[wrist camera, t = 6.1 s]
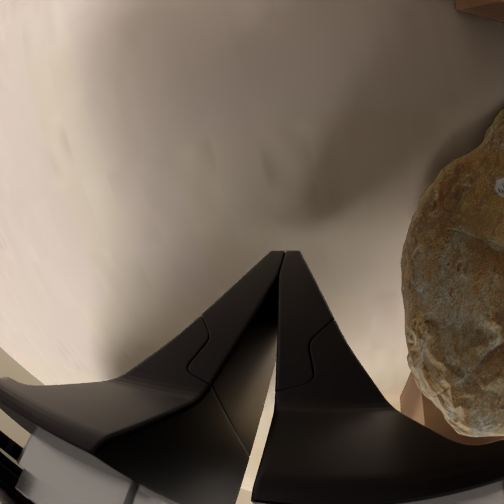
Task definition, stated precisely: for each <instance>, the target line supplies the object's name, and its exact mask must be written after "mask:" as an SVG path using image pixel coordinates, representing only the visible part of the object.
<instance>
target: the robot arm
mask: <svg viewBox="0 0 504 504" xmlns="http://www.w3.org/2000/svg"><path fill="white" fill-rule="evenodd" d="M201 316H202V317H201ZM201 316H200V317H198V318H197V319H196V320H195V321H194V322H193V323H192V324H191V325H189V326H188V327H187V328H186V329H185V330H184V331H182V332H181V333H180V334H179V335H178V336H176V337H175V338H174V339H172V340H171V341H170V342H169V343H167V344H166V345H165V346H163V347H162V348H161V349H159V350H158V351H157V352H155V353H154V354H152V355H151V356H150V357H148V358H147V359H145V360H144V361H143V362H141V363H140V364H139V365H137V366H136V367H134V368H133V369H132V370H130V371H129V372H127V373H126V374H124V375H122V376H120V377H118V378H115V379H112V380H108V381H103V382H92V383H80V384H66V385H46V386H33V385H26V384H22V383H19V382H17V381H15V380H13V379H11V378H9V377H3V378H0V408H1V409H2V410H3V411H4V412H5V413H6V414H7V415H8V416H10V417H11V418H12V419H13V420H15V421H16V422H17V423H18V424H19V425H20V426H22V427H23V428H24V429H25V430H27V431H28V432H29V433H30V436H29V438H28V440H27V442H26V444H25V446H24V448H23V447H21V446H20V445H18V444H17V443H16V442H14V441H13V440H12V439H10V438H9V437H8V436H7V435H5V434H4V433H3V432H1V431H0V504H235V503H236V500H237V497H238V494H239V490H240V487H241V484H242V481H243V477H244V474H245V471H246V468H247V464H248V461H249V456H250V454H251V450H252V447H253V443H254V440H255V436H256V433H257V429H258V425H259V422H260V418H261V415H262V411H263V407H264V403H265V400H266V396H267V392H268V388H269V384H270V380H271V376H272V373H273V369H274V365H275V361H276V386H275V392H276V393H275V405H274V413H273V418H272V422H271V425H270V429H269V433H268V437H267V440H266V444H265V447H264V451H263V455H262V458H261V462H260V465H259V469H258V472H257V475H256V479H255V482H254V486H253V490H252V497H251V501H252V502H253V503H254V504H504V439H502V440H498V441H495V442H491V443H487V444H481V445H467V444H462V443H458V442H455V441H453V440H450V439H448V438H447V437H445V436H443V435H441V434H439V433H437V432H435V431H433V430H431V429H429V428H428V427H426V426H424V425H422V424H420V423H418V422H417V421H415V420H413V419H411V418H409V417H408V416H406V415H404V414H402V413H400V412H399V411H397V410H396V409H395V408H394V407H393V406H392V405H390V404H389V402H388V401H387V400H386V399H385V398H384V396H383V395H382V394H381V392H380V391H379V389H378V388H377V386H376V385H375V383H374V382H373V381H372V379H371V378H370V376H369V375H368V373H367V372H366V371H365V369H364V368H363V366H362V365H361V363H360V362H359V360H358V359H357V358H356V356H355V354H354V353H353V351H352V350H351V348H350V347H349V345H348V344H347V342H346V340H345V338H344V336H343V334H342V333H341V331H340V329H339V327H338V325H337V323H336V321H335V319H334V317H333V315H332V313H331V311H330V309H329V307H328V305H327V303H326V301H325V299H324V297H323V295H322V293H321V291H320V289H319V287H318V285H317V283H316V281H315V279H314V277H313V275H312V273H311V271H310V269H309V267H308V266H307V264H306V262H305V260H304V258H303V256H302V254H301V252H300V251H286V252H284V251H271V252H269V253H268V254H267V255H266V256H265V257H264V258H263V259H262V260H261V261H260V262H259V263H258V264H256V265H255V266H254V267H253V268H252V269H251V270H250V271H249V272H248V273H247V274H246V275H244V276H243V277H242V278H241V279H240V280H239V281H238V282H237V283H236V284H235V285H234V286H233V287H231V288H230V289H229V290H228V291H227V292H226V293H225V294H224V295H223V296H222V297H220V298H219V299H218V300H217V301H216V302H215V303H214V304H213V305H212V306H211V307H209V308H208V309H207V310H206V311H205V312H204V313H203V314H202V315H201ZM276 356H277V359H276Z"/></svg>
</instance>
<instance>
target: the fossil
mask: <svg viewBox="0 0 504 504" xmlns="http://www.w3.org/2000/svg"><path fill="white" fill-rule="evenodd" d="M401 271H402V287H401V290H402V296H403V303H404V309H405V335H406V342H407V346H408V352H409V353H408V356H407V361H408V365H409V368H410V369H411V371H412V373H413V377H414V380H415V383H416V385H417V387H418V388H419V389H420V391H421V392H422V393H423V394H424V395H425V397H426V398H428V399H430V400H431V401H432V402H433V403H434V404H435V406H436V407H437V408H439V409H440V410H441V411H442V413H443V415H444V418H445V420H446V421H447V422H448V423H449V424H450V425H451V426H452V427H453V428H454V430H455V431H456V432H457V433H458V434H461V435H465V436H470V437H486V436H504V108H503V109H502V110H501V111H499V114H498V115H497V116H496V118H495V119H494V121H493V124H492V126H490V127H488V129H487V130H486V132H485V136H484V141H483V142H482V143H481V145H479V146H478V147H477V148H475V149H474V150H472V151H471V152H469V153H467V154H466V155H464V156H462V157H459V158H456V159H454V160H453V161H452V162H451V163H449V164H448V165H447V166H446V167H444V168H442V169H441V171H440V172H439V174H438V176H437V178H436V179H435V180H434V181H433V183H432V184H431V185H430V186H429V187H428V188H427V189H426V190H425V192H424V193H423V194H422V195H421V197H420V200H419V203H418V207H417V210H416V212H415V214H414V215H413V217H412V221H411V224H410V227H409V230H408V233H407V237H406V241H405V243H404V247H403V252H402V258H401Z"/></svg>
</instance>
